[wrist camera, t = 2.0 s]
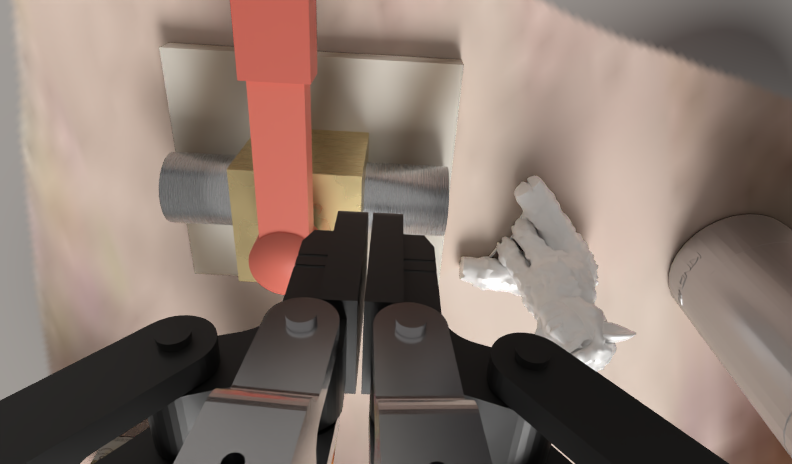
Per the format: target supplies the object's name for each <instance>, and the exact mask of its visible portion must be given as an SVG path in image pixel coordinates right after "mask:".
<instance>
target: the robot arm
mask: <svg viewBox="0 0 792 464" xmlns="http://www.w3.org/2000/svg"><path fill="white" fill-rule="evenodd" d="M368 224H369V212H355V211H338V213H337V217H336V222H335V226H334V231H330V230H314V231H313V232H312V233H310V234H309V235H308V236H307V237H306V238H305V239H303V240H302V243H301V246H300V249H299V252H298V256H297V258H296V262H295V267H294V268H293V271H292V274H291V277H290V280H289V283H288V286H287V289H286V293H285V296H284V299H283V301H282V302H280V303H278V304H276V305H274V306H273V307H272V308H270V309H269V311H268V312H267V313H266V314H265V316H264V318H263V320H262V322H261V324H260V326H259V327H256V328H254V329H250V330H247V331H243V332H237V333H232V334H226V335H220V336H217V331H216V328H215V327H214V325H213V324H212V323H211V322H209V321H208V320H206V319H204V318H201V317H197V316H188V315H184V316H173V317H169V318H165V319H162V320H159V321H157V322H155V323H152V324H150V325H148V326H146V327H144V328H142V329H140V330H138V331H136V332H135V333H133V334H131V335H129V336H127V337H125V338H123V339H121V340H119V341H117V342H115V343H113V344H111V345H109V346H107V347H105V348H103V349H101V350H99V351H97V352H95V353H93V354H91V355H89V356H87V357H85V358H83V359H81V360H79V361H77V362H75V363H73V364H71V365H69V366H67V367H65V368H63V369H62V370H60V371H58V372H56V373H54V374H52V375H50V376H48V377H46V378H44V379H42V380H40V381H38V382H36V383H34V384H32V385H30V386H28V387H26V388H24V389H22V390H20V391H18V392H16V393H14V394H12V395H10V396H8V397H6V398H4V399H2V400H1V401H0V464H80V463H81V462H82V461H83V460H84V459H85V458H86V457H87V456H89V455H90V454H92V453H93V452H95V451H96V450H98V449H99V448H101V447H103V446H104V445H106V444H107V443H109V442H111V441H112V440H114V439H115V438H117V437H118V436H120V435H122V434H123V433H125V432H126V431H128V430H129V429H131V428H133V427H134V426H136V425H137V424H139V423H140V422H142V421H144V420H145V419H147V418H148V421H149V425H150V427H149V428H148V429H146V430H145V431H143V432H141V433H140V434H138V435H137V436H135V437H134V438H132V439H131V440H129V441H128V442H126V443H125V444H123V445H121V446H120V447H118V448H117V449H115V450H114V451H112V452H111V453H109V454H108V455H106V456H105V457H103V458H101V459H100V460H98V461H97V462H95V463H94V464H331V462H332V458H333V453H334V448H335V444H336V439H337V434H338V430H339V416H340V414H341V412H342V407H343V400H344V393H350V394H355V393H356V383H357V373H358V363H359V353H360V343H361V333H362V323H363V313H364V326H363V359H362V391H361V394H370V411H369V464H572V463H571V462H570V461H569V460H568V459H567V458H565V457H564V456H563V455H562V454H561V453H560V452H558V451H557V450H556V449H555V448H554V447H553V446H552V445H551V444H553V445H554V446H556V447H557V448H558V449H559V450H560V451H561V452H563V453H564V454H565V455H566V456H567V457H568V458H570V459H571V460H572V461H573V462H574V463H575V464H729V463H727V462H726V461H724V460H723V459H722V458H720V457H719V456H717V455H716V454H714V453H713V452H711V451H710V450H709V449H707V448H706V447H704V446H703V445H701V444H700V443H699V442H697V441H696V440H694V439H693V438H691V437H690V436H688V435H687V434H686V433H684V432H683V431H681V430H680V429H678V428H677V427H675V426H674V425H673V424H671V423H670V422H668V421H667V420H665V419H664V418H663V417H661V416H660V415H658V414H657V413H655V412H654V411H652V410H651V409H650V408H648V407H647V406H645V405H644V404H642V403H641V402H639V401H638V400H637V399H635V398H634V397H632V396H631V395H629V394H628V393H626V392H625V391H624V390H622V389H621V388H619V387H618V386H616V385H615V384H614V383H612V382H611V381H609V380H608V379H606V378H605V377H603V376H602V375H601V374H599V373H598V372H596V371H595V370H593V369H592V368H590V367H589V366H588V365H586V364H585V363H583V362H582V361H580V360H579V359H578V358H576V357H575V356H573V355H572V354H570V353H569V352H567V351H566V350H565V349H563V348H562V347H560V346H559V345H557V344H556V343H554V342H553V341H551V340H549V339H547V338H545V337H542V336H539V335H535V334H530V333H511V334H507V335H505V336H502V337H500V338H499V339H498V340H496V342H495V343H494V344H493V346H492V347H488V346H484V345H481V344H477V343H474V342H471V341H468V340H466V339H464V338H462V337H460V336H458V335H457V334H455V333H454V332H453V331H451V330H450V329H449V327H448V324H447V321H446V320H445V318H444V317H443V316H442V314H441V306H440V296H439V287H438V277H437V268H436V258H435V248H434V246H433V245H432V244H431V243H430V241H429V240H428V239H427V238H426V237H425V235H409V234H403V214H395V213H375V212H373V220H372V230H371V240H370V250H369V259H368V269H367V254H368ZM669 288H670V292H671V295H672V296H673V298H674V299H675V301H676V302H677V304H678V305H679V306H680V308H681V309H682V310H683V312H684V313H685V315H686V316H687V317H688V319H689V320H690V321H691V323H692V324H693V325H694V327H695V328H696V330H697V331H698V333H699V334H700V335H701V337H702V338H703V339H704V341H705V342H706V343H707V345H708V346H709V347H710V349H711V350H712V351H713V353H714V354H715V355H716V357H717V358H718V360H719V361H720V362H721V364H722V365H723V366H724V368H725V369H726V370H727V372H728V373H729V374H730V376H731V377H732V378H733V380H734V381H735V382H736V384H737V385H738V386H739V388H740V389H741V390H742V392H743V393H744V395H745V396H746V397H747V399H748V400H749V401H750V403H751V404H752V405H753V407H754V408H755V409H756V411H757V412H758V413H759V415H760V416H761V417H762V419H763V420H764V421H765V423H766V424H767V425H768V427H769V428H770V430H771V431H772V432H773V434H774V435H775V436H776V438H777V439H778V440H779V442H780V443H781V444H782V446H783V447H784V448H785V450H786V451H787V452H788V454H789V455H790V456H791V457H792V230H791V229H790V228H789V227H787V226H786V225H785V224H783V223H781V222H780V221H778V220H776V219H774V218H771V217H768V216H764V215H754V214H747V215H738V216H733V217H729V218H726V219H722V220H720V221H717V222H715V223H713V224H711V225H709V226H707V227H705V228H704V229H702V230H701V231H699V232H698V233H696V234H695V235H694V236H693V237H692V238H691V239H689V240H688V241H687V242H686V243H685V244H684V245H683V247H682V248H681V249H680V251H679V252H678V253H677V255H676V257H675V259H674V261H673V263H672V265H671V268H670V272H669Z"/></svg>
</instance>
